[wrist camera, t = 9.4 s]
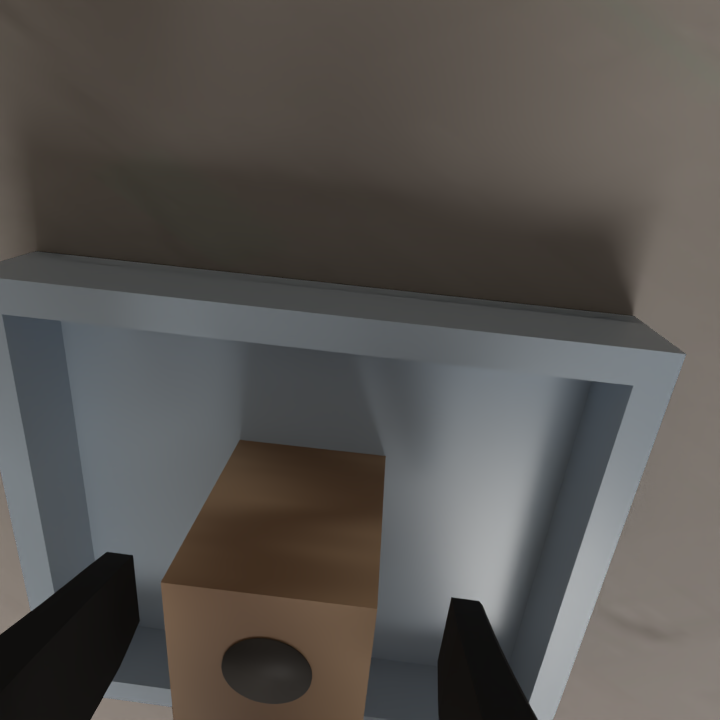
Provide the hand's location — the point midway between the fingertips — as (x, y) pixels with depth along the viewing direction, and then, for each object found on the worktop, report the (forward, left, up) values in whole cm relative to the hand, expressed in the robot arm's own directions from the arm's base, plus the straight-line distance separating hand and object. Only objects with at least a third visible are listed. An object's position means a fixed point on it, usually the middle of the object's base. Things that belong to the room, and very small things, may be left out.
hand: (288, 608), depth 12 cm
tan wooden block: (0, 0, -4) cm, 4 cm away
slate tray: (0, 0, -4) cm, 4 cm away
